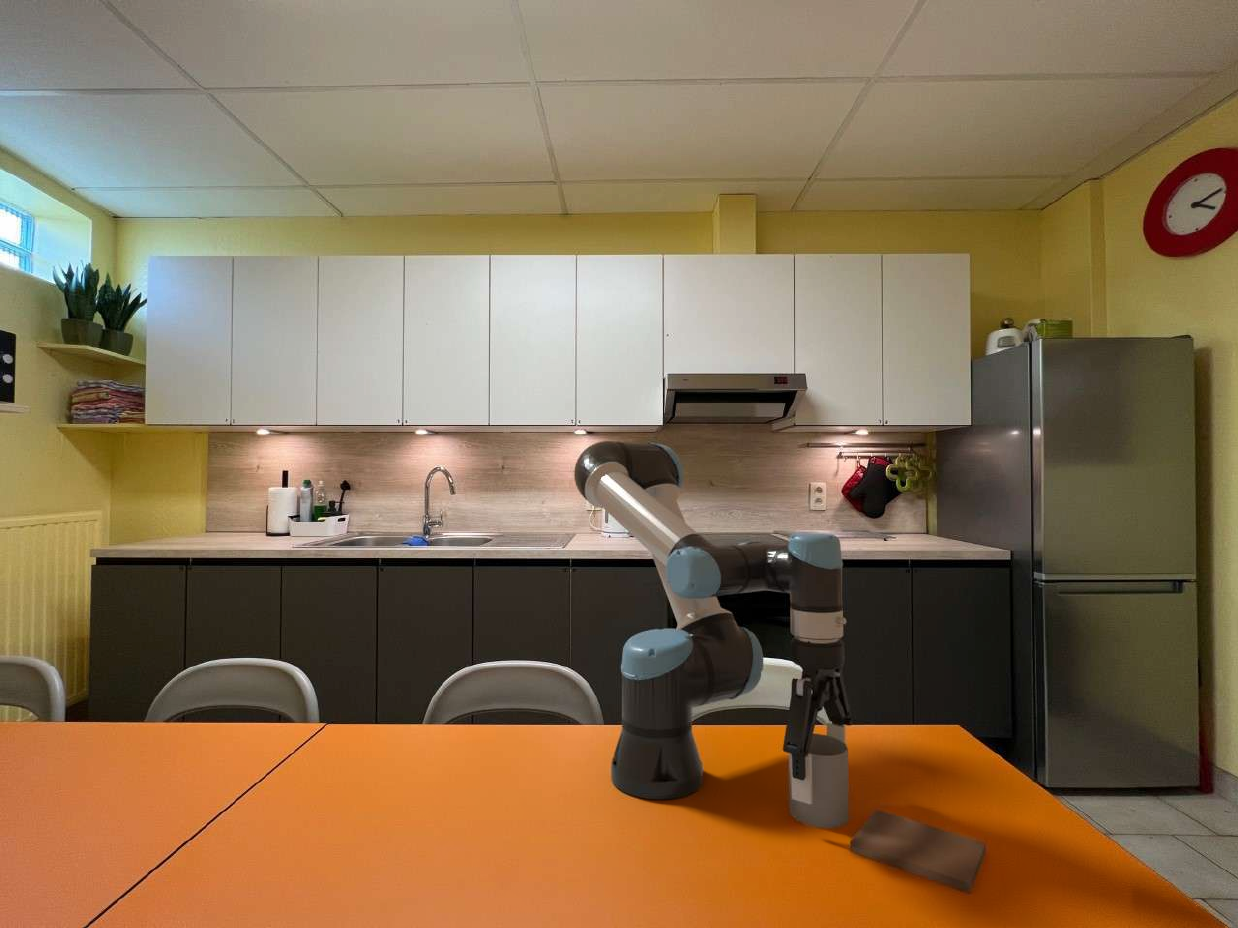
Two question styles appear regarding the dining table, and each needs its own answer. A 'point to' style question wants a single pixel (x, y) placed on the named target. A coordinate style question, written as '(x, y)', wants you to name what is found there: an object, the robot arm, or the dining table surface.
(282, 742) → the dining table surface
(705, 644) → the robot arm
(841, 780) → the cup
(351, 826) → the dining table surface
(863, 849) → the walnut board
